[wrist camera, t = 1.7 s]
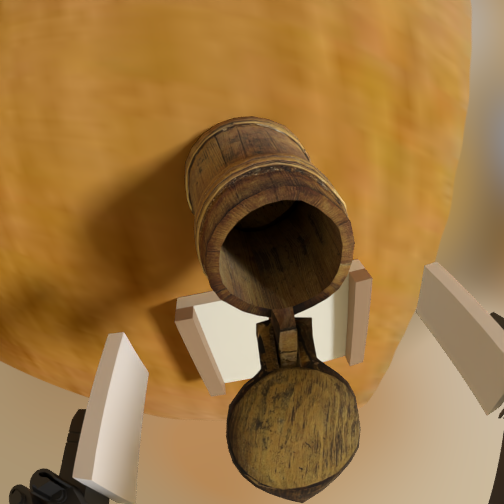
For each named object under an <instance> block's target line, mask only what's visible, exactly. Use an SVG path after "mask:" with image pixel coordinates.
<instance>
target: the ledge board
mask: <svg viewBox="0 0 504 504" xmlns="http://www.w3.org/2000/svg"><path fill="white" fill-rule="evenodd" d="M371 290H372V277H371V276H370V274H369V273H368V272H367V270H366V269H365V268H364V266H363V265H362V264H361V262H360V261H359V260H358V259H356V260H352V264H351V267H350V270H349V273H348V275H347V277H346V278H345V280H344V282H343V283H342V285H341V286H340V288H339V289H338V290H337V291H336V292H335V293H333V294H332V295H331V296H330V297H328V298H327V299H326V300H324V301H322V302H320V303H318V304H317V305H315V306H313V307H311V308H309V309H307V310H304V311H302V312H300V313H298V314H295V315H294V316H295V317H312V330H313V340H314V345H315V351H316V356H317V358H318V359H319V360H320V361H322V362H324V361H328V360H332V359H335V358H339V357H342V356H346V359H347V361H348V363H349V365H350V366H352V365H355V364H358V363H361V362H363V359H364V352H365V345H366V337H367V329H368V320H369V311H370V301H371ZM268 319H269V318H268V317H263V316H257V315H253V314H250V313H246V312H243V311H241V310H239V309H237V308H235V307H233V306H231V305H230V304H228V303H226V302H224V301H222V300H220V298H219V297H218V296H217V295H216V293H215V292H214V291H211V292H206V293H201V294H195V295H190V296H185V297H180V298H177V305H176V313H175V324H176V326H177V328H178V330H179V332H180V335H181V337H182V339H183V341H184V343H185V345H186V347H187V349H188V352H189V354H190V356H191V358H192V360H193V362H194V364H195V366H196V368H197V370H198V372H199V374H200V376H201V378H202V380H203V382H204V383H205V385H206V387H207V389H208V391H209V393H210V395H211V396H218V395H224V394H225V383H227V382H233V381H239V380H244V379H250V378H253V377H254V376H255V375H256V374H257V373H258V372H259V370H260V369H261V365H260V358H259V350H258V343H257V337H256V323H259V322H262V321H265V320H268Z"/></svg>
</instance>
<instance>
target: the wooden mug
mask: <svg viewBox="0 0 504 504" xmlns="http://www.w3.org/2000/svg"><path fill="white" fill-rule="evenodd" d="M185 188H186V195H187V201H188V204H189V207H190V209H191V211H192V213H193V214H194V216H195V220H194V236H195V245H196V250H197V255H198V259H199V261H200V264H201V267H202V270H203V273H204V274H205V276H206V277H207V278H208V280H209V283H210V286H211V288H212V289H213V291H214V292H215V293H216V295H217V296H218V297H219V298H220V300H222V301H224V302H226V303H228V304H230V305H231V306H233V307H235V308H237V309H239V310H241V311H243V312H246V313H250V314H253V315H257V316H263V317H268V318H269V319H268V320H265V321H262V322H259V323H256V337H257V343H258V350H259V358H260V365H261V369H260V370H259V372H258V373H257V374H256V375H255V376H254V377H253V378H252V379H250V380H249V381H248V382H247V383H246V384H244V385H243V387H242V388H241V390H240V391H239V392H238V394H237V395H236V397H235V398H234V399H233V401H232V402H231V404H230V405H229V410H228V417H227V431H226V433H227V434H226V438H227V444H228V449H229V452H230V455H231V458H232V461H233V463H234V465H235V466H236V467H237V469H238V470H239V472H240V473H241V475H242V476H243V477H244V478H246V479H247V480H248V481H249V482H251V483H252V484H253V485H254V486H255V487H257V488H259V489H261V490H263V491H265V492H267V493H269V494H272V495H275V496H278V497H281V498H284V499H287V500H291V501H295V502H300V503H303V502H305V501H307V500H308V499H310V498H311V497H313V496H315V495H316V494H318V493H319V492H321V491H322V490H323V489H325V488H326V487H327V486H328V485H329V484H330V483H331V482H332V481H334V480H335V479H336V478H337V477H338V476H339V475H340V474H341V472H342V471H343V470H344V469H345V468H346V467H347V466H348V464H349V463H350V462H351V460H352V458H353V457H354V455H355V453H356V451H357V449H358V447H359V437H360V421H359V414H358V409H357V403H356V397H355V395H354V393H353V391H352V389H351V387H350V385H349V383H348V382H347V381H346V380H345V379H344V378H343V377H342V376H341V375H340V374H338V373H337V372H336V371H334V370H333V369H331V368H330V367H328V366H327V365H325V364H324V363H323V362H322V361H320V360H319V359H318V358H317V356H316V351H315V345H314V340H313V330H312V317H295V316H294V315H295V314H298V313H300V312H302V311H304V310H307V309H309V308H311V307H313V306H315V305H317V304H318V303H320V302H322V301H324V300H326V299H327V298H328V297H330V296H331V295H332V294H333V293H335V292H336V291H337V290H338V289H339V288H340V286H341V285H342V283H343V282H344V280H345V278H346V277H347V275H348V273H349V270H350V267H351V264H352V259H353V251H354V244H355V242H354V237H353V232H352V226H351V222H350V220H349V218H348V214H347V210H346V205H345V203H344V201H343V200H342V198H341V197H340V195H339V194H338V193H337V191H336V190H335V188H334V187H333V185H332V184H331V183H330V181H329V180H328V178H327V177H326V176H325V175H324V174H323V173H322V172H321V171H319V170H318V169H317V168H316V167H315V166H314V165H313V164H312V163H311V160H310V157H309V155H308V153H307V152H306V151H305V149H304V148H303V146H302V145H301V143H300V141H299V139H298V138H297V137H296V136H295V135H294V134H293V133H292V132H291V131H290V130H289V129H288V128H286V127H285V126H284V125H281V124H279V123H276V122H274V121H271V120H269V119H263V118H258V117H253V116H251V117H238V118H233V119H230V120H227V121H224V122H221V123H219V124H217V125H215V126H214V127H212V128H211V129H209V130H208V131H206V132H205V133H204V134H203V135H202V136H201V137H200V138H199V139H198V141H197V142H196V143H195V144H194V146H193V147H192V149H191V151H190V153H189V155H188V158H187V160H186V162H185Z"/></svg>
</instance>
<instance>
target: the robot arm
mask: <svg viewBox="0 0 504 504" xmlns="http://www.w3.org/2000/svg"><path fill="white" fill-rule="evenodd" d="M416 313H417V314H418V316H419V317H420V318H421V320H422V321H423V322H424V324H425V325H426V326H427V328H428V329H429V330H430V332H431V333H432V334H433V336H434V337H435V338H436V340H437V341H438V343H439V344H440V345H441V347H442V348H443V350H444V351H445V352H446V354H447V355H448V357H449V358H450V360H451V361H452V362H453V364H454V365H455V367H456V368H457V370H458V371H459V373H460V374H461V375H462V377H463V378H464V380H465V382H466V383H467V384H468V386H469V388H470V389H471V391H472V392H473V394H474V395H475V397H476V399H477V400H478V402H479V403H480V405H481V407H482V408H483V410H484V411H485V413H486V415H489V414H490V413H492V412H493V411H494V410H496V409H497V408H499V407H500V406H501V405H502V403H503V402H504V318H503V317H501V316H499V315H498V314H496V313H494V312H493V313H491V314H489V313H488V312H487V311H486V310H485V309H484V308H483V307H482V306H481V305H480V303H479V302H478V301H477V300H476V299H475V298H474V297H473V296H472V295H471V294H470V293H469V292H468V291H467V290H466V289H465V288H464V287H463V286H462V285H461V284H460V283H459V282H458V281H457V280H456V279H455V278H454V277H453V276H452V275H451V274H450V273H449V272H447V270H445V269H444V268H443V267H442V266H441V265H440V264H439V263H438V262H435V263H431V264H428V265H425V266H424V272H423V278H422V284H421V289H420V295H419V300H418V305H417V309H416ZM148 375H149V373H148V371H147V369H146V368H145V366H144V365H143V363H142V362H141V360H140V358H139V357H138V355H137V353H136V352H135V350H134V349H133V347H132V345H131V343H130V342H129V340H128V338H127V337H126V335H125V333H124V332H120V333H113V334H108V337H107V340H106V343H105V347H104V350H103V353H102V356H101V359H100V363H99V366H98V369H97V373H96V376H95V379H94V383H93V387H92V390H91V394H90V398H89V401H88V405H87V409H79V410H78V411H77V413H76V414H75V416H74V417H73V419H72V422H71V425H70V430H69V432H70V433H69V434H68V437H67V443H66V446H65V450H64V455H63V460H62V465H61V470H60V474H59V476H58V475H56V474H55V473H53V472H52V471H50V470H48V469H40V470H37V471H36V472H35V473H34V474H33V475H32V477H31V480H30V489H28V488H27V487H25V486H23V485H16V486H14V487H13V488H12V490H11V491H10V495H9V503H10V504H109V499H111V500H113V501H115V502H118V503H125V504H136V486H137V472H138V459H139V448H140V438H141V428H142V419H143V411H144V403H145V396H146V388H147V382H148ZM503 415H504V409H503V410H502V412H501V413H500V415H499V418H501V417H502V416H503ZM488 504H504V433H503V440H502V447H501V453H500V459H499V463H498V468H497V473H496V477H495V481H494V485H493V489H492V493H491V496H490V500H489V503H488Z"/></svg>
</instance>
